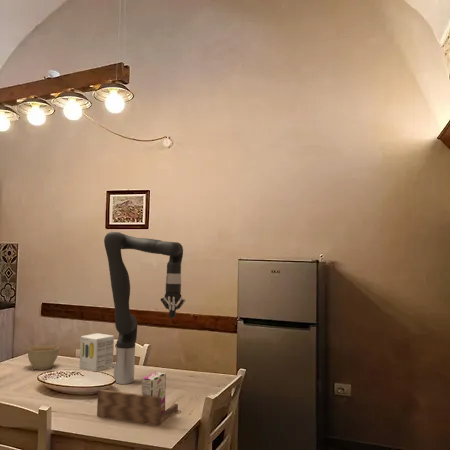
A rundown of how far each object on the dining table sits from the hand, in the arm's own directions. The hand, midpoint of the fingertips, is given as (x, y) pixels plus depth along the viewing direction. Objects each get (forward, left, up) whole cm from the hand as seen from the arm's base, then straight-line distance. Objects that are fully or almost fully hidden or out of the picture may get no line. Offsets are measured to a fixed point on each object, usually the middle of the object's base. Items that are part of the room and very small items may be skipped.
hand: (172, 317), depth 230 cm
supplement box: (-52, +16, -33) cm, 64 cm away
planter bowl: (-78, +4, -33) cm, 85 cm away
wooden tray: (+4, -39, -33) cm, 51 cm away
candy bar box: (+11, -41, -33) cm, 54 cm away
